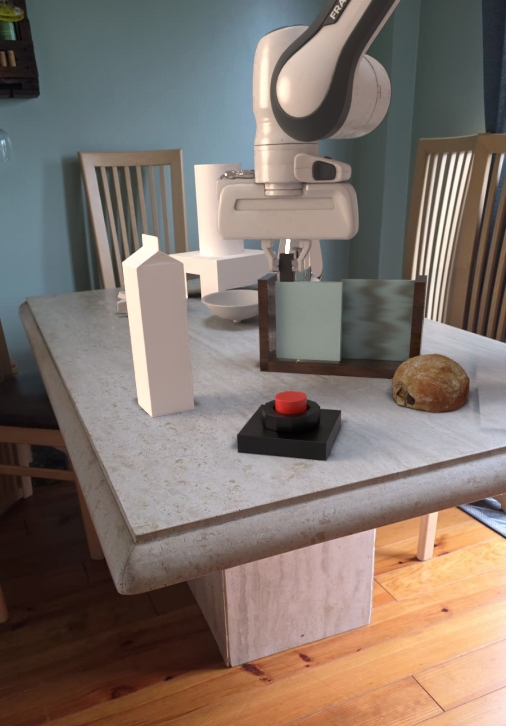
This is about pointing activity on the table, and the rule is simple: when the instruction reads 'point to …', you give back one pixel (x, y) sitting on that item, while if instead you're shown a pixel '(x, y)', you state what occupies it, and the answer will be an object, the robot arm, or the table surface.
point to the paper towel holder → (218, 242)
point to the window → (307, 316)
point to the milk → (159, 329)
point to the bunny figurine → (122, 302)
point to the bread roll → (430, 383)
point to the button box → (290, 432)
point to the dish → (233, 304)
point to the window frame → (356, 328)
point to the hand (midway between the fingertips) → (287, 271)
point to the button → (291, 402)
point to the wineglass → (311, 262)
